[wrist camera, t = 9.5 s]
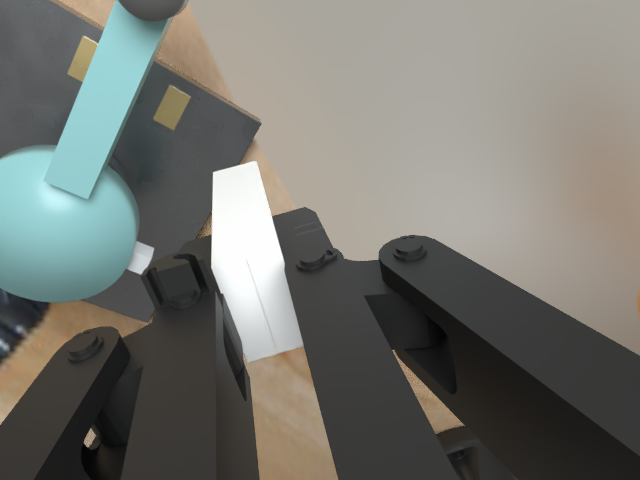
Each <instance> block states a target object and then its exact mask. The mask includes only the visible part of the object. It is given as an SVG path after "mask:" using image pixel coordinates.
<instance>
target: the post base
mask: <svg viewBox="0 0 640 480" xmlns="http://www.w3.org/2000/svg"><path fill="white" fill-rule="evenodd" d="M104 29H105V28H104V27H102V26H101V25H99V24H97V23H96V22H94V21H92V20H91V19H89V18H87V17H85V16H84V15H82V14H80V13H79V12H77V11H75V10H74V9H72V8H70V7H68V6H67V5H65V4H63V3H62V2H60V1H58V0H0V158H1V157H2V156H4V155H6V154H8V153H9V152H11V151H14V150H17V149H20V148H23V147H28V146H32V145H58V143H59V140H60V138H61V135H62V133H63V130H64V128H65V125H66V123H67V120H68V118H69V115H70V113H71V110H72V108H73V105H74V103H75V100H76V98H77V96H78V93H79V91H80V88H81V86H82V83H83V81H84V78H85V76H86V73H87V71H88V68H89V66H90V63H91V61H92V58H93V56H94V53H95V51H96V48H97V46H98V44H99V41H100V39H101V36H102V34H103V31H104ZM260 125H261V121H260V119H259V118H257V117H256V116H254V115H252V114H250V113H249V112H247V111H245V110H243V109H242V108H240V107H239V106H237V105H235V104H233V103H232V102H230V101H228V100H227V99H225V98H223V97H222V96H220V95H218V94H216V93H215V92H213V91H211V90H210V89H208V88H206V87H204V86H203V85H201V84H199V83H198V82H196V81H194V80H193V79H191V78H189V77H187V76H186V75H184V74H182V73H181V72H179V71H177V70H176V69H174V68H172V67H170V66H169V65H167V64H165V63H164V62H162V61H160V60H159V59H157V58H155V60H154V62H153V64H152V66H151V68H150V71H149V73H148V75H147V77H146V80H145V82H144V84H143V86H142V89H141V91H140V93H139V95H138V97H137V100H136V102H135V104H134V106H133V109H132V111H131V113H130V115H129V118H128V120H127V122H126V124H125V126H124V129H123V131H122V133H121V135H120V138H119V140H118V142H117V144H116V147H115V149H114V151H113V153H112V155H111V158H110V160H109V162H108V164H107V165H108V166H110V167H111V168H112V169H113V170H114V171H116V172H117V173H118V174H119V176H120V177H121V178H122V179H123V180H124V181H125V183H126V184H127V185H128V187H129V188H130V190H131V192H132V194H133V195H134V198H135V200H136V203H137V206H138V210H139V217H140V226H139V233H138V237H137V240H136V241H138V242H140V243H143V244H145V245H148V246H150V247H153V248H154V251H153V255H152V259H151V261H150V263H149V265H150V264H151V263H153V262H155V261H157V260H158V259H160V258H162V257H164V256H167V255H170V254H172V253H176V252H178V251H179V250H180V248H181V247H182V246H183V245H184V244H185V242H187V241H191V240H194V239H196V237H197V235H198V234H199V232H200V230H201V228H202V227H203V225H204V223H205V221H206V220H207V218H208V216H209V214H210V213H211V211H212V201H213V172H216V171H219V170H223V169H227V168H231V167H234V166H238V164H239V162H240V160H241V159H242V157H243V155H244V153H245V152H246V150H247V148H248V146H249V145H250V143H251V141H252V139H253V138H254V136H255V134H256V133H257V131H258V129H259V127H260ZM149 265H148V266H149ZM140 276H141V274H138V273H136V272H133V271H130V270H128V269H125V271H124V272H123V274H122V275H121V276H120V277H119V279H118V280H117V281H116V282H114V283H113V284H112V285H111V286H110V287H108V288H107V289H105V290H104V291H102V292H100V293H98V294H96V295H94V296H91V297H88V298H85V299H81V300H83V301H86V302H88V303H91V304H94V305H97V306H100V307H103V308H106V309H109V310H112V311H115V312H118V313H121V314H124V315H127V316H130V317H132V318H135V319H138V320H141V321H144V322H148V321H149V319H150V317H151V315H152V314H153V312H154V310H155V307H154V305H153V303H152V301H151V299H150V297H149V294H148V292H147V290H146V288H145V286H144V284H143V282H142V280H141V278H140Z"/></svg>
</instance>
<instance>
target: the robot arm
mask: <svg viewBox="0 0 640 480" xmlns="http://www.w3.org/2000/svg"><path fill="white" fill-rule="evenodd" d="M140 278H141V280H142V282H143V284H144V286H145V288H146V290H147V292H148V294H149V297H150V299H151V301H152V303H153V305H154V307H155V311H154V316H153V321H152V323H150V324H149V325H147V326H145V327H143V328H142V329H140V330H138V331H136V332H134V333H132V334H130V335H128V336H126V337H124V338H122V337H121V335H120V334H119V332H118V330H117V329H115V328H113V327H98V328H94V329H89V330H86V331H84V332H83V333H79V334H77V335H76V336H74V337H73V338H72V339H71V340H69V341H68V342H66V343H65V344H64V345H63V346H62V347H61V348H60V349H59V350H58V351H57V352H56V353H55V354H54V355H53V357H52V358H51V359H50V361H49V362H48V363H47V365H46V366H45V367H44V369H43V370H42V371H41V373H40V374H39V375H38V376H37V378H36V379H35V380H34V382H33V383H32V384H31V386H30V387H29V388H28V390H27V391H26V392H25V394H24V395H23V396H22V397H21V399H20V400H19V401H18V403H17V404H16V405H15V407H14V408H13V409H12V411H11V412H10V413H9V415H8V416H7V417H6V418H5V420H4V421H3V422H2V424H1V425H0V480H259V470H258V459H257V449H256V438H255V428H254V418H253V407H252V397H251V387H250V377H249V375H248V372H247V370H246V367H245V365H244V362H243V352H244V354H245V357H246V360H247V362H248V363H249V362H252V361H255V360H258V359H262V358H265V357H268V356H272V355H275V354H278V353H281V352H285V351H288V350H291V349H294V348H298V347H301V346H304V349H305V352H306V356H307V360H308V364H309V368H310V372H311V375H312V379H313V383H314V387H315V391H316V395H317V398H318V402H319V406H320V410H321V414H322V418H323V422H324V425H325V429H326V433H327V437H328V441H329V445H330V448H331V452H332V456H333V460H334V464H335V468H336V472H337V475H338V479H339V480H640V356H639V355H638V354H636V353H634V352H632V351H630V350H628V349H627V348H625V347H623V346H622V345H620V344H618V343H616V342H615V341H613V340H611V339H609V338H608V337H606V336H604V335H602V334H601V333H599V332H597V331H595V330H593V329H592V328H590V327H588V326H586V325H585V324H583V323H581V322H579V321H577V320H576V319H574V318H572V317H571V316H569V315H567V314H565V313H563V312H562V311H560V310H558V309H557V308H555V307H553V306H551V305H549V304H548V303H546V302H544V301H542V300H541V299H539V298H537V297H535V296H534V295H532V294H530V293H528V292H527V291H525V290H523V289H521V288H519V287H518V286H516V285H514V284H512V283H511V282H509V281H507V280H505V279H504V278H502V277H500V276H498V275H497V274H495V273H493V272H491V271H490V270H488V269H486V268H484V267H483V266H481V265H479V264H477V263H475V262H474V261H472V260H470V259H468V258H467V257H465V256H463V255H461V254H460V253H458V252H456V251H454V250H453V249H451V248H449V247H447V246H446V245H444V244H442V243H440V242H438V241H437V240H435V239H432V238H429V237H426V236H417V235H409V236H402V237H400V238H397V239H394V240H391V241H390V242H388V243H386V244H385V245H384V246H383V247H382V248H381V249H380V251H379V260H372V261H351V260H347V259H344V257H343V255H342V253H341V252H340V251H339V250H338V249H335V248H333V246H332V244H331V242H330V240H329V238H328V237H327V235H326V232H325V230H324V228H323V227H322V224H321V222H320V221H319V218H318V217H317V214H316V213H315V212H314V211H312V210H310V209H308V208H306V207H304V208H300V209H297V210H293V211H289V212H286V213H282V214H279V215H275V216H272V214H271V210H270V207H269V203H268V200H267V196H266V193H265V189H264V186H263V182H262V179H261V175H260V172H259V169H258V165H257V162H256V161H253V162H249V163H245V164H242V165H238V166H234V167H231V168H227V169H223V170H219V171H216V172H213V201H212V235H209V236H205V237H202V238H198V239H194V240H191V241H187V242H185V244H184V245H183V246H182V247H181V248H180V250H179V251H178V252H176V253H172V254H170V255H167V256H164V257H162V258H160V259H158V260H157V261H155V262H153V263H151V264H150V265H149V266H148V267H147V268H146V269H144V271H143V272H142V274H141V276H140ZM242 349H243V350H242ZM392 350H395V352H396V354H397V356H398V357H399V359H400V360H401V361H402V362H403V363H404V364H405V365H406V366H407V367H408V368H409V369H410V370H411V371H412V372H413V373H414V374H415V375H416V376H417V377H418V378H419V379H420V380H421V381H422V382H423V383H424V384H425V385H426V386H427V387H428V388H429V389H430V390H431V391H432V392H433V393H434V394H435V395H436V396H437V397H438V398H439V399H440V400H441V401H442V402H443V403H444V404H445V405H446V407H447V408H448V409H449V410H450V411H451V412H452V413H453V414H454V415H455V416H456V417H457V418H458V419H459V420H460V421H461V422H462V423H463V424H464V425H465V427H459V428H454V429H451V430H447V431H444V432H442V433H439V434H437V435H436V434H435V432H434V430H433V428H432V426H431V424H430V423H429V421H428V419H427V417H426V415H425V413H424V411H423V409H422V407H421V405H420V403H419V401H418V399H417V397H416V396H415V394H414V392H413V390H412V388H411V386H410V384H409V382H408V380H407V378H406V376H405V374H404V372H403V370H402V369H401V367H400V365H399V363H398V361H397V359H396V357H395V355H394V353H393V351H392ZM90 428H91V429H92V430H93V432H94V433H95V435H96V437H95V439H94V440H93V442H92V444H91V445H90V446H89V448H88V447H86V446H85V444H84V443H83V442H84V439H85V437H86V435H87V433H88V432H89V430H90Z"/></svg>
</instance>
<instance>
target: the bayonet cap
mask: <svg viewBox="0 0 640 480" xmlns="http://www.w3.org/2000/svg"><path fill="white" fill-rule="evenodd" d="M187 3H188V0H116V1H115V4H114V6H113V9H112V11H111V14H110V16H109V19H108V21H107V24H106V26H105V29H104V31H103V34H102V36H101V39H100V41H99V44H98V46H97V48H96V51H95V53H94V56H93V58H92V61H91V63H90V66H89V68H88V71H87V73H86V76H85V78H84V81H83V83H82V86H81V88H80V91H79V93H78V96H77V98H76V100H75V103H74V105H73V108H72V110H71V113H70V115H69V118H68V120H67V123H66V125H65V128H64V130H63V133H62V135H61V138H60V140H59V143H58V145H32V146H28V147H23V148H20V149H17V150H14V151H11V152H9V153H8V154H6V155H4V156H2V157H1V158H0V288H1V289H3V290H5V291H7V292H10V293H12V294H14V295H17V296H20V297H23V298H27V299H31V300H35V301H42V302H54V303H57V302H71V301H77V300H81V299H85V298H88V297H91V296H94V295H96V294H98V293H100V292H102V291H104V290H105V289H107V288H108V287H110V286H111V285H112V284H113V283H114V282H116V281H117V280H118V279H119V277H120V276H121V275H122V274H123V272H124V271H125V269H128V270H130V271H133V272H136V273H138V274H142V272H143V271H144V269H146V268H147V267H148V265H149V263H150V261H151V259H152V255H153V251H154V248H153V247H150V246H148V245H145V244H143V243H140V242H138V241H136V240H137V237H138V233H139V226H140V217H139V210H138V206H137V203H136V200H135V198H134V195H133V194H132V192H131V190H130V188H129V187H128V185H127V184H126V183H125V181H124V180H123V179H122V178H121V177H120V176H119V174H118V173H117V172H116V171H114V170H113V169H112V168H111V167H110V166H108V165H107V164H108V162H109V160H110V158H111V155H112V153H113V151H114V149H115V147H116V144H117V142H118V140H119V138H120V135H121V133H122V131H123V129H124V126H125V124H126V122H127V120H128V118H129V115H130V113H131V111H132V109H133V106H134V104H135V102H136V100H137V97H138V95H139V93H140V91H141V89H142V86H143V84H144V82H145V80H146V77H147V75H148V73H149V71H150V68H151V66H152V64H153V62H154V60H155V57H156V55H157V53H158V51H159V48H160V46H161V44H162V42H163V39H164V37H165V35H166V33H167V31H168V28H169V26H170V24H171V22H172V19H173V17H174V16H176V15H178V14H179V13H181V12H182V11H183V10H184V8H185V7H186V5H187Z"/></svg>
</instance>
